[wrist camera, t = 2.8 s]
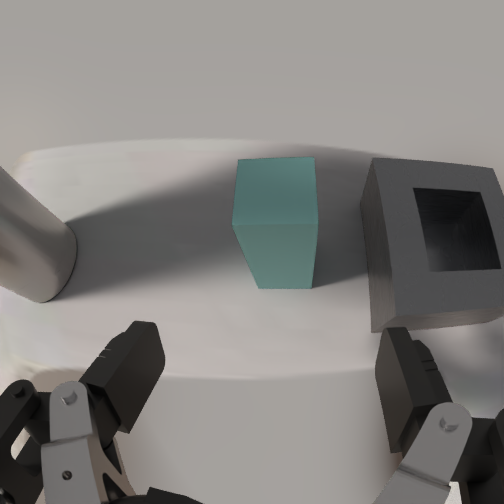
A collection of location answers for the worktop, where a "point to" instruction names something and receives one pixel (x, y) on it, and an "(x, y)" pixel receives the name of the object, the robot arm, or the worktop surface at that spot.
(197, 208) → the worktop surface
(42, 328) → the worktop surface
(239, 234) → the teal peg
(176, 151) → the worktop surface
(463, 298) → the socket block
